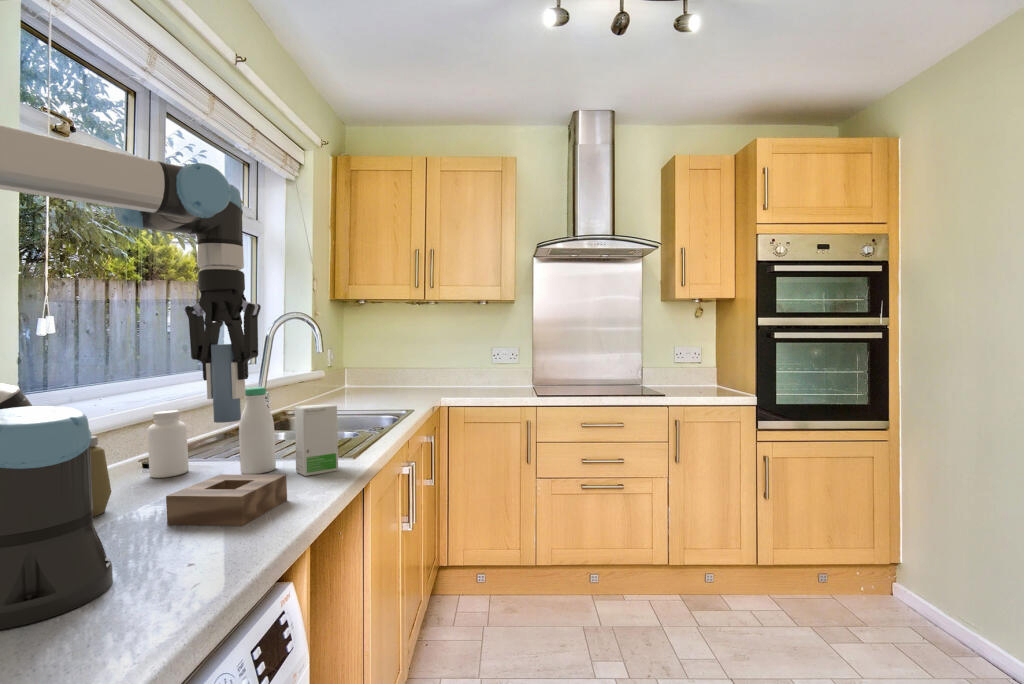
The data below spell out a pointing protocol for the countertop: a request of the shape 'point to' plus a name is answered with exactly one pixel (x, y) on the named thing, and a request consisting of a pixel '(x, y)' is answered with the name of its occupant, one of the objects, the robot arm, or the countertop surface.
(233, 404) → the peg
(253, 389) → the milk bottle
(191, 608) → the countertop surface
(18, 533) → the robot arm
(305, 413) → the skincare box
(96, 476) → the squeeze bottle
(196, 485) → the socket block
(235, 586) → the countertop surface
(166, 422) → the pill bottle
